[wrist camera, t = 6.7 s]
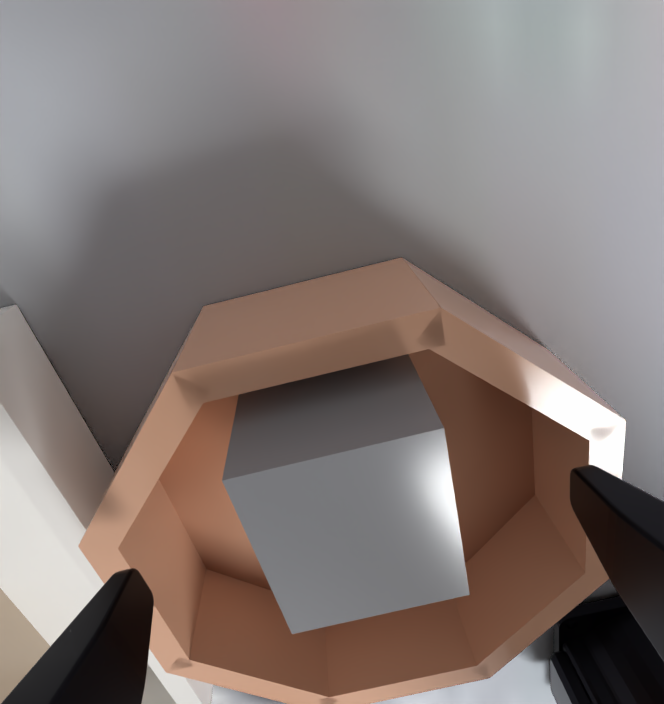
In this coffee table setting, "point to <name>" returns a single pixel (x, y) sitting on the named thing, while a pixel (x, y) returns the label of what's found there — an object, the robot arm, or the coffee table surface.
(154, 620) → the terracotta bowl
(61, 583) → the tray
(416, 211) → the coffee table surface
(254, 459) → the grey block
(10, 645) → the taupe block
